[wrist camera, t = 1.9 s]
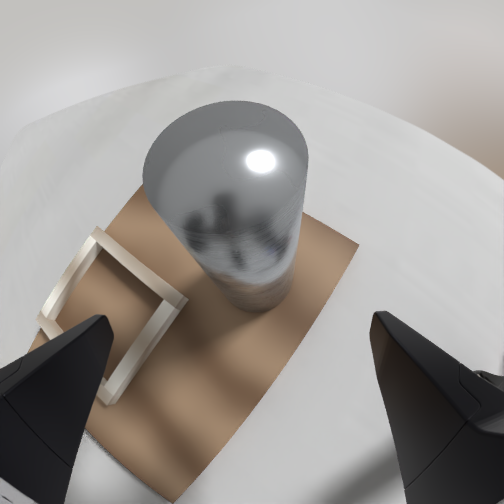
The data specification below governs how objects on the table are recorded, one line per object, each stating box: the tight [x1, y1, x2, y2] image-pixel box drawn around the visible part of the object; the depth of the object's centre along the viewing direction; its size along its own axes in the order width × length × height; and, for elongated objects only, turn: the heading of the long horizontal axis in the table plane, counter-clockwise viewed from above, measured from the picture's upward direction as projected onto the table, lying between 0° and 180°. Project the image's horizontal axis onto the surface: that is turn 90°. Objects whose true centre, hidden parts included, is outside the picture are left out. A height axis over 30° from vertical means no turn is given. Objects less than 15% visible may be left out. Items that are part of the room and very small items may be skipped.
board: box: [28, 184, 359, 504], centre depth 20 cm, size 24×18×2 cm
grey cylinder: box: [143, 101, 308, 312], centre depth 14 cm, size 5×5×13 cm
